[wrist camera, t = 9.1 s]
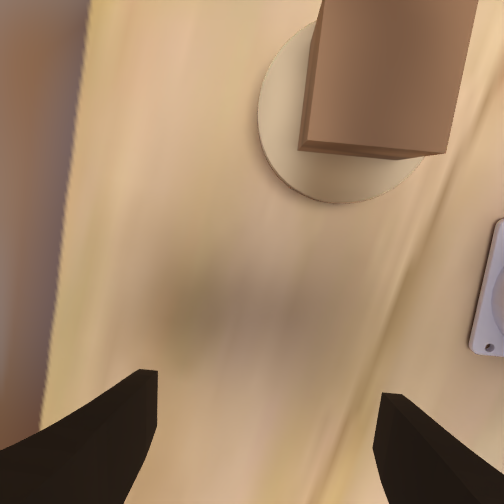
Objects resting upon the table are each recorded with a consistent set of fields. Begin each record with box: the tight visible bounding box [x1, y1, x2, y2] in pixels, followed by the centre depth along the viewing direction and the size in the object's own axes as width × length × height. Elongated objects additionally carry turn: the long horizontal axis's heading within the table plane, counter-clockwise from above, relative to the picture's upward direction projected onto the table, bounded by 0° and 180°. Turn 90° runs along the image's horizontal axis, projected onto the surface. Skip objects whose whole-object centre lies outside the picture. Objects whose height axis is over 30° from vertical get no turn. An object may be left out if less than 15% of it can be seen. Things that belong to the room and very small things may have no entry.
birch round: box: [257, 20, 425, 203], centre depth 17 cm, size 8×8×4 cm
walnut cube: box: [297, 0, 478, 160], centre depth 13 cm, size 4×4×4 cm
